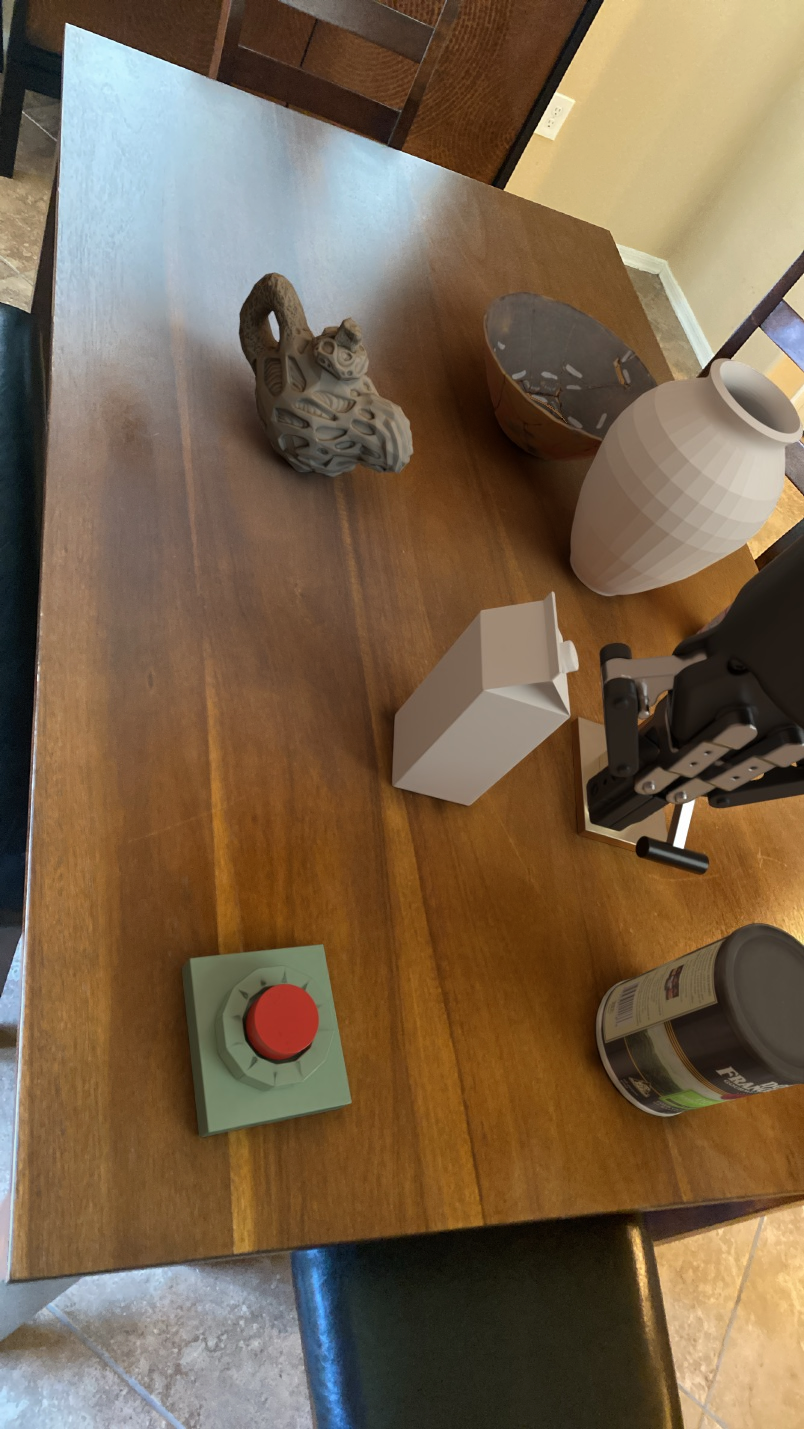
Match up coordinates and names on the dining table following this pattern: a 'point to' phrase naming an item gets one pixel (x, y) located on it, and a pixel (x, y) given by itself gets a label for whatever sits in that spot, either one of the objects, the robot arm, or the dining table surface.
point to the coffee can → (708, 1024)
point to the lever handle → (674, 845)
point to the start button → (282, 1021)
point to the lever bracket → (590, 762)
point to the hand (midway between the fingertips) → (601, 810)
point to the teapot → (317, 389)
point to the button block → (226, 1062)
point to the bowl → (557, 375)
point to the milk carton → (485, 703)
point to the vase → (682, 479)
